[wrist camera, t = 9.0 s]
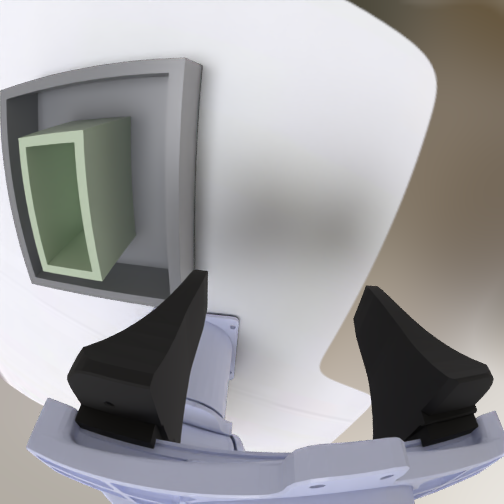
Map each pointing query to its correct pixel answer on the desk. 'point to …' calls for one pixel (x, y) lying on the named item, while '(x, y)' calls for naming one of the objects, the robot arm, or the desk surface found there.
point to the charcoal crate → (142, 166)
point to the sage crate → (80, 194)
